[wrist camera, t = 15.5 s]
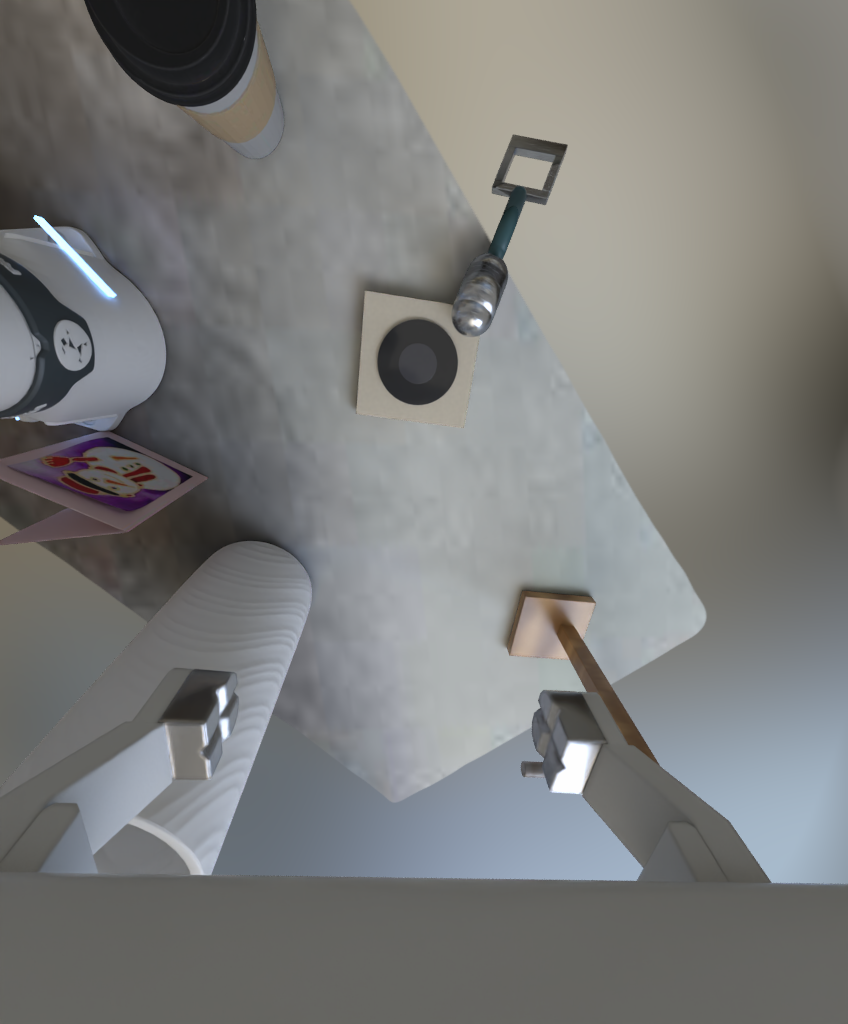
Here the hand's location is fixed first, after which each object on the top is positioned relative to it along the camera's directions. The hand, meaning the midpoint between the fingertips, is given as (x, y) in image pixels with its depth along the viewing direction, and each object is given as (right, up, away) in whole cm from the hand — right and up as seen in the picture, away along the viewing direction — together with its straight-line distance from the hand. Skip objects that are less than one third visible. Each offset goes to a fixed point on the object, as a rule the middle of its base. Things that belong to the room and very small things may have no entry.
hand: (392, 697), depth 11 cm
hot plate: (0, +21, +33) cm, 39 cm away
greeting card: (-31, +9, +36) cm, 48 cm away
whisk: (+5, +22, +27) cm, 35 cm away
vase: (-21, -5, +42) cm, 47 cm away
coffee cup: (-14, +39, +25) cm, 49 cm away
